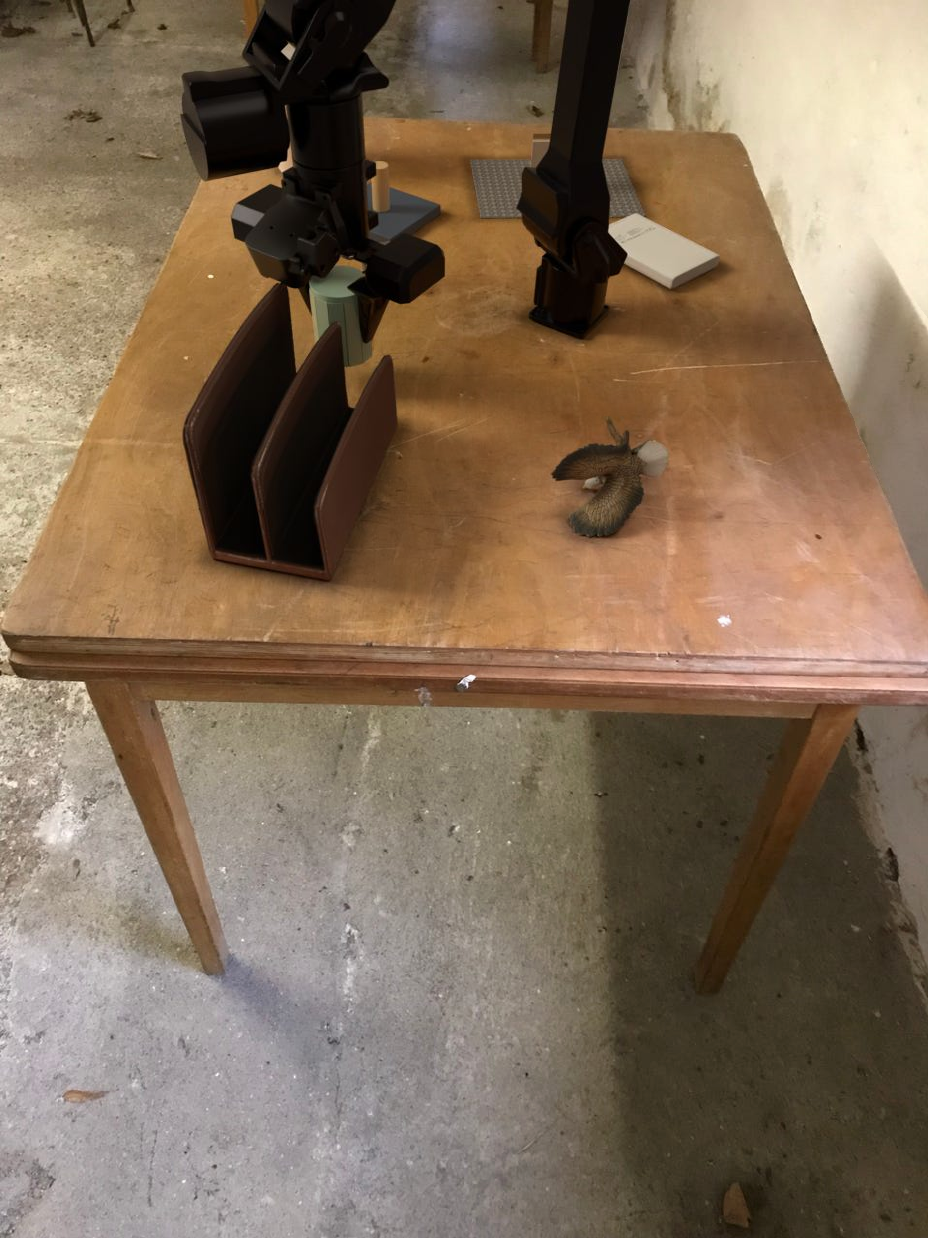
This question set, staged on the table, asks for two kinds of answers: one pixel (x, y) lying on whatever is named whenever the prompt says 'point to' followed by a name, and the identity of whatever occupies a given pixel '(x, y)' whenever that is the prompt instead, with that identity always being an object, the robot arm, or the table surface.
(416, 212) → the cup stand
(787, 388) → the table surface
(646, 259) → the hard drive
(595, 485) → the eagle figurine
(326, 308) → the mint canister
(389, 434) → the letter holder
